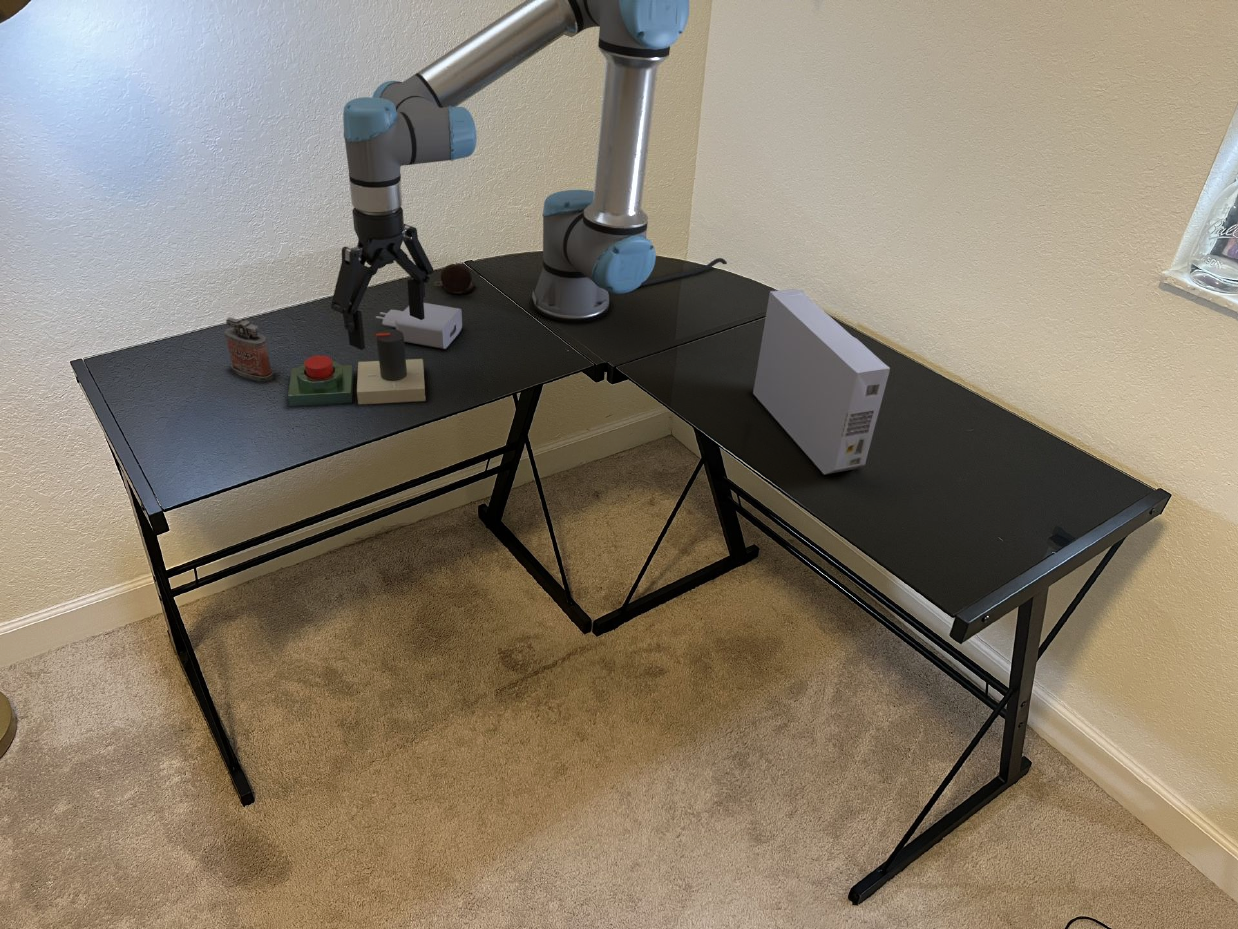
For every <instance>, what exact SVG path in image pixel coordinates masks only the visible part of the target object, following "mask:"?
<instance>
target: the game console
mask: <svg viewBox="0 0 1238 929" xmlns="http://www.w3.org/2000/svg"><path fill="white" fill-rule="evenodd" d="M765 313H766V314H765V319H764V326H763V330H762V335H761V336H762V338H761V343H760V350H759V355H758V362H757V366H756V372H755V373H756V374H755V380H754V384H753V389H752V390H753V391H752V394H753V395H754V396H755V397H756V398H757V400H758V401H759V402H760V403H761V404H762V406H763V407H764V408H765V409H766V410H767V411H768V413H769V414H771V416H772V417H773V418H774V419H775V420H776V421H777V423H778V424H779V425H780V426H781V428H783V429H784V431H785V432H786V433H787V434H788V435H789V436H790V437H791V439H793V441H794V442H795V444H797V445H798V447H799V448H800V449H801V450H802V451H803V452H804V453H805V455H806V456H807V457H808V458H809V459H810V460H811V461H812V463H813V464H814V465H815V466H816V467H817V468H818V470H820V472H821V473H822V474H823V475H831V474H836V473H841V472H846V471H851V470H856V469H858V468H861V467H864V466H865V465H866V463H867V459H868V454H869V450H870V448H871V443H872V439H873V436H874V431H875V428H876V424H877V422H878V421H877V420H878V416H879V414H880V410H881V405H882V401H883V397H884V395H885V394H884V393H885V390H886V386H887V382H888V378H889V374H890V370H891V367H889V366H888V365H887V364H886V363H885V362H883V361H882V360H881V359H880V358H879V357H878V356H877V355H876V354H874V352H872V351H871V350H870V349H869V348H868V347H867V346H866V345H864V344H863V342H861V341H860V340H859V339H858V338H857V337H854V336H852V334H851V333H850V332H848V331H847V330H846V329H845V328H844V327H843V326H841V325H840V323H838V321H836V320H835V319H833V318H832V316H831V315H829V314H828V313H827V312H826V311H825V310H823V309H822V308H821V307H820V306H819V305H818V304H817V303H816V302H815V301H813V300H812V299H811V298H810V297H808V296H807V295H806V292H805V291H804V290H802V289H796V288H788V289H779V290H770V291H769V295H768V301H767V307H766V312H765Z"/></svg>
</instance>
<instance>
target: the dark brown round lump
mask: <svg viewBox="0 0 1238 929" xmlns="http://www.w3.org/2000/svg"><path fill="white" fill-rule="evenodd" d="M472 278H473V276H472V274H471V271H470V270H469V269H468V268H467V267H466V266H465V265H462V264H460V263H458V262H457V261H456V262H455V263H451V264H450V263H449V264H447V265H446V266H444V267H443V269H442V270H441V273H440V284H436V283H438V281H435V282H434V286H436V287H440V286H443V289H444V291H446V292H448V293H449V294H453V295H463V294H467V293H471V291H473V289H474V288H475V283H474V282H473V279H472Z"/></svg>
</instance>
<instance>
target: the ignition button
mask: <svg viewBox="0 0 1238 929" xmlns="http://www.w3.org/2000/svg"><path fill="white" fill-rule="evenodd" d="M332 361H333V359H332V358H331V357H329V356H327V355H314V356H313V355H312V356H311V357H308V358H307V359H305V361H304V364H305V370H306V375H307V376H308V377H310V378H314V379H315V378H325V377H328V376H331V375H332V374H333V364H332Z"/></svg>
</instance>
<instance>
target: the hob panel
mask: <svg viewBox="0 0 1238 929" xmlns="http://www.w3.org/2000/svg"><path fill="white" fill-rule="evenodd" d="M406 368H407V375H406V377H405V378H403V379H401V380H397V381H388V380H385V379H383V378H382V377H381V375H380V365H379V360H370V361H369V360H368V361H367V360H366V361H358V362H357V381H356V382H357V383H356V395H357V396H356V397H357V405H374V404H375V405H376V404H391V403H410V402H412V403H413V402H426V386H425V385H426V384H425V383H426V382H425V368H424V358H413V359H412V358H411V359H406Z"/></svg>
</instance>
